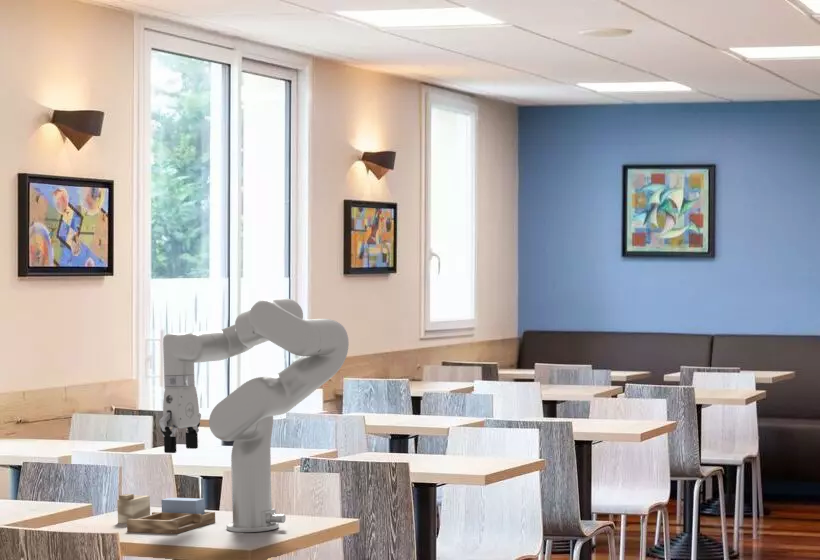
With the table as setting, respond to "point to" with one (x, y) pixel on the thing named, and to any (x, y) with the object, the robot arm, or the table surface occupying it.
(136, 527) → the tray
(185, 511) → the bar
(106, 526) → the table surface
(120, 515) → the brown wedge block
